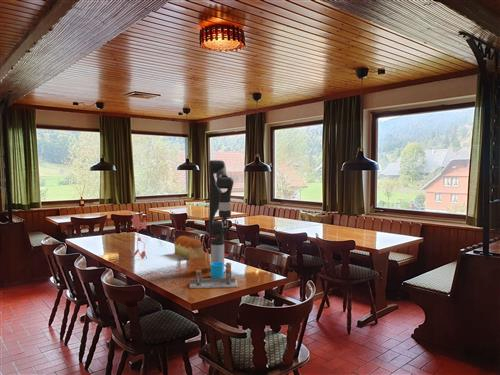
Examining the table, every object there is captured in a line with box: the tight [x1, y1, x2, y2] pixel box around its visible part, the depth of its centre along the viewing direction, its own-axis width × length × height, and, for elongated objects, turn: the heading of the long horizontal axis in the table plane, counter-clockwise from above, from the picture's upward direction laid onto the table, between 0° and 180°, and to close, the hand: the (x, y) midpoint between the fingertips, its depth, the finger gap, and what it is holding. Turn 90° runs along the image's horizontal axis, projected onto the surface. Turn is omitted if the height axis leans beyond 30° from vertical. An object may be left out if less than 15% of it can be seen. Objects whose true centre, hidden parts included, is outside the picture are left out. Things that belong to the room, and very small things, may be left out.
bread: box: [173, 235, 204, 260], centre depth 304 cm, size 25×12×15 cm, turn 38°
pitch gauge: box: [189, 269, 239, 289], centre depth 227 cm, size 10×28×8 cm, turn 96°
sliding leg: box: [225, 262, 232, 282], centre depth 228 cm, size 8×3×10 cm, turn 6°
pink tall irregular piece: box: [126, 213, 148, 262], centre depth 292 cm, size 15×26×35 cm, turn 45°
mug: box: [210, 262, 226, 278], centre depth 247 cm, size 12×8×8 cm
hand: (224, 235), depth 236 cm, fingers open, 8 cm apart
